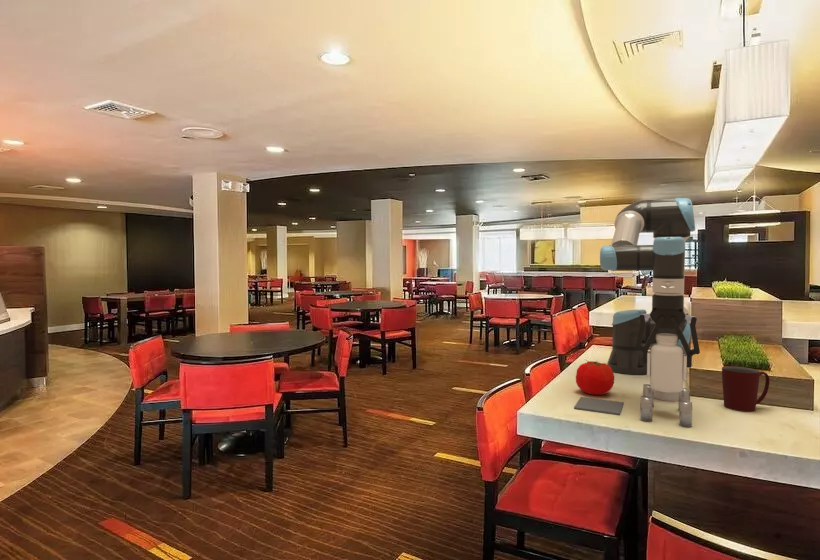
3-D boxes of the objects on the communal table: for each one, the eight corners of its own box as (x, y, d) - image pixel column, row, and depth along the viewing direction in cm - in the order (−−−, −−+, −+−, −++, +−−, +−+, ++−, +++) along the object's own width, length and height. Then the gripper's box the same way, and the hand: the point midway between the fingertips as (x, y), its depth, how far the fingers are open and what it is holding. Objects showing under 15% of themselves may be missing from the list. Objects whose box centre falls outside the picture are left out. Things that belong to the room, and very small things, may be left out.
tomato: (573, 387, 160) (573, 356, 159) (610, 389, 157) (610, 358, 157) (578, 397, 148) (578, 364, 147) (618, 399, 146) (618, 366, 145)
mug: (757, 403, 141) (758, 366, 140) (778, 413, 132) (779, 373, 132) (714, 402, 142) (715, 365, 142) (732, 412, 133) (732, 372, 133)
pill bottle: (643, 385, 135) (644, 332, 134) (671, 384, 135) (672, 331, 134) (661, 393, 127) (662, 337, 126) (689, 392, 127) (690, 336, 126)
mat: (580, 398, 147) (580, 396, 147) (623, 403, 141) (623, 402, 141) (574, 408, 136) (574, 407, 136) (619, 415, 131) (619, 413, 131)
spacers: (643, 404, 141) (643, 383, 141) (689, 409, 135) (689, 388, 135) (640, 420, 126) (640, 398, 126) (692, 428, 121) (692, 404, 120)
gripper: (624, 294, 131) (623, 376, 132) (714, 296, 121) (712, 385, 122) (626, 291, 138) (625, 370, 139) (712, 294, 128) (710, 378, 129)
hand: (666, 377), depth 131 cm, fingers closed on pill bottle, 8 cm apart
